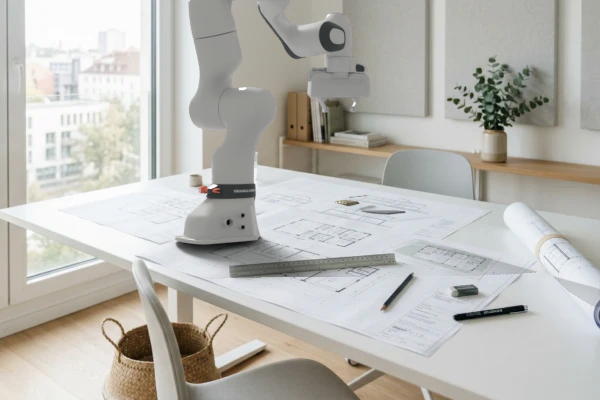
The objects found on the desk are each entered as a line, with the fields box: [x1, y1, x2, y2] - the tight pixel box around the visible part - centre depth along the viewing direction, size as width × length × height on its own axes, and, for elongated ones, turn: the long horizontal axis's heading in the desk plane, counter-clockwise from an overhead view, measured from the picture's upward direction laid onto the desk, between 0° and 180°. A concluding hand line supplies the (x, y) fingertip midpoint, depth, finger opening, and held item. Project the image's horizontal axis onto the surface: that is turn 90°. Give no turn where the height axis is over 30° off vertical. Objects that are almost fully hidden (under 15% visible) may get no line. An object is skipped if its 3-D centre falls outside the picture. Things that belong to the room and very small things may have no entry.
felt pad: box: [362, 209, 406, 215], centre depth 188 cm, size 9×10×1 cm
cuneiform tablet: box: [334, 194, 368, 207], centre depth 198 cm, size 7×4×12 cm
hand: (339, 112), depth 190 cm, fingers open, 8 cm apart
